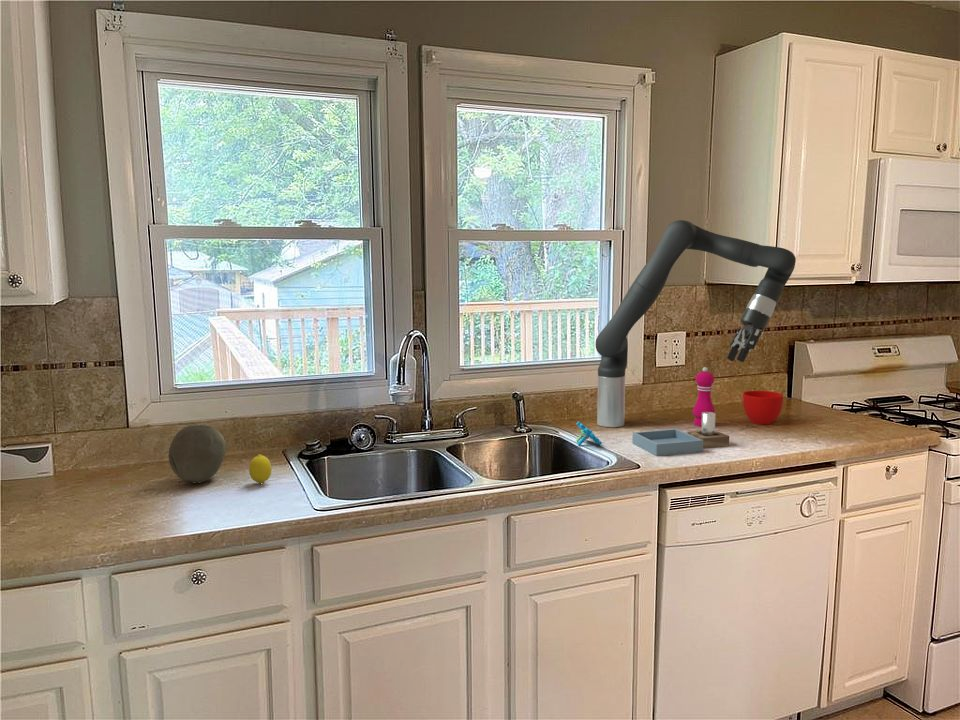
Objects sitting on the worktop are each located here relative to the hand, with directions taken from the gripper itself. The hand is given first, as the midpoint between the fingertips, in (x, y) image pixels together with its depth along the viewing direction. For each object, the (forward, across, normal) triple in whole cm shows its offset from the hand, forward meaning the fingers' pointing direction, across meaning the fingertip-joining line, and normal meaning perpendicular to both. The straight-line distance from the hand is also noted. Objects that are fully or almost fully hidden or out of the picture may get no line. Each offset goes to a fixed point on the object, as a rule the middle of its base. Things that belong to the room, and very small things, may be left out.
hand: (734, 360), depth 215 cm
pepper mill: (+21, -28, +10) cm, 36 cm away
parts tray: (+33, +1, -7) cm, 33 cm away
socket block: (+26, -4, +5) cm, 27 cm away
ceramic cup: (+11, -32, +29) cm, 44 cm away
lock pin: (+26, -4, +5) cm, 27 cm away
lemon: (+87, +32, -108) cm, 142 cm away
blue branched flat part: (+43, -4, -28) cm, 51 cm away
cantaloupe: (+94, +28, -123) cm, 158 cm away
